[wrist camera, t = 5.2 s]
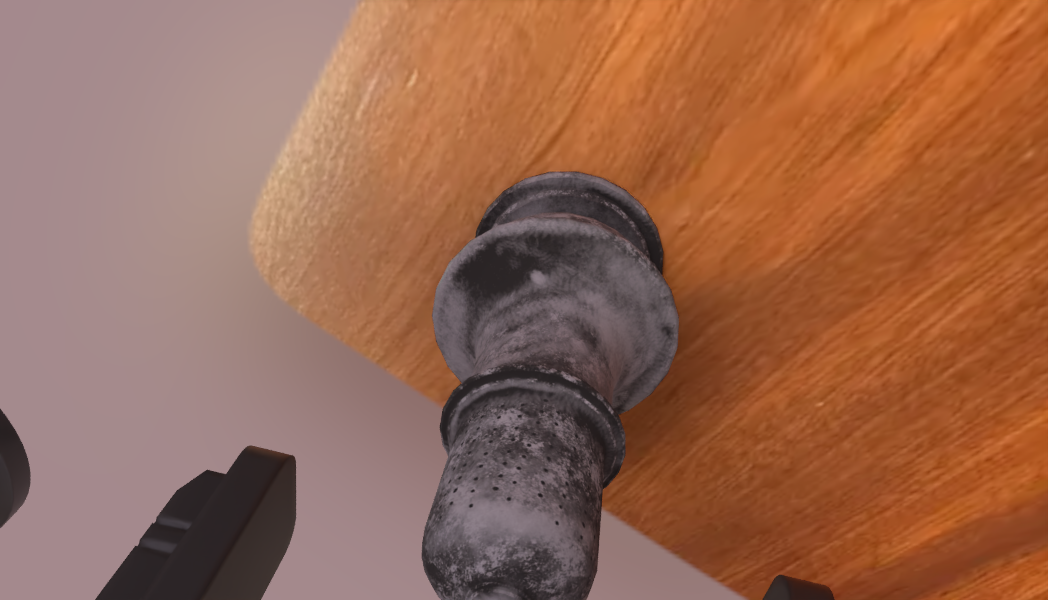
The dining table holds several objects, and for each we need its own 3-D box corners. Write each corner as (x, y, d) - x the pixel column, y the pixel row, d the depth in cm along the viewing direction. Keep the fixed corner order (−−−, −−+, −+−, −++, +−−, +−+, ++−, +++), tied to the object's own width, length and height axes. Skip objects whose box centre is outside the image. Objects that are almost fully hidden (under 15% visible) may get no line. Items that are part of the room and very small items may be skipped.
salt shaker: (624, 373, 22) (604, 814, 12) (440, 307, 22) (260, 702, 12) (712, 207, 19) (787, 616, 9) (498, 127, 19) (323, 454, 9)
